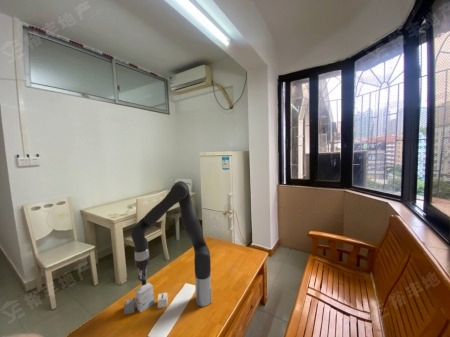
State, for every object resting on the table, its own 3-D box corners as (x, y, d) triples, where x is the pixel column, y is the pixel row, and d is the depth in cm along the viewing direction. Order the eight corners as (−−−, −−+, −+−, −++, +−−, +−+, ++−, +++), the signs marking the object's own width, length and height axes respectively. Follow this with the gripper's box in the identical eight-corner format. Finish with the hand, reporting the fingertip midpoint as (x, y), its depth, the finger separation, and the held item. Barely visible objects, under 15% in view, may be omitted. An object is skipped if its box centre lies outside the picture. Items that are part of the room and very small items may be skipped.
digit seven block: (136, 305, 111) (135, 297, 111) (133, 312, 107) (133, 304, 106) (127, 307, 110) (126, 299, 110) (124, 314, 106) (123, 306, 105)
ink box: (150, 299, 116) (148, 281, 115) (154, 303, 113) (153, 285, 112) (136, 308, 110) (134, 289, 108) (140, 313, 106) (139, 294, 105)
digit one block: (167, 299, 115) (167, 292, 115) (166, 306, 110) (166, 298, 110) (159, 301, 114) (158, 293, 114) (158, 308, 109) (157, 300, 109)
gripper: (146, 262, 102) (148, 291, 104) (150, 249, 115) (152, 275, 117) (131, 264, 100) (134, 294, 102) (137, 251, 113) (139, 277, 115)
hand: (144, 284), depth 110 cm, fingers closed
